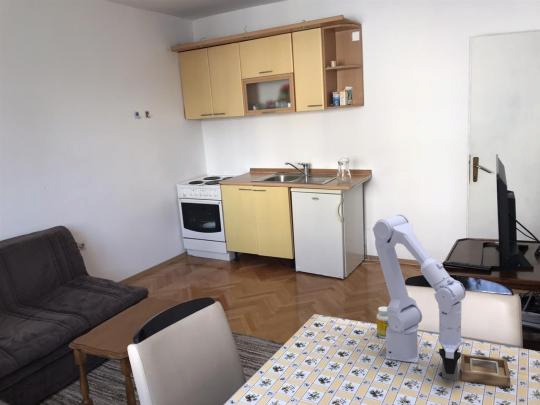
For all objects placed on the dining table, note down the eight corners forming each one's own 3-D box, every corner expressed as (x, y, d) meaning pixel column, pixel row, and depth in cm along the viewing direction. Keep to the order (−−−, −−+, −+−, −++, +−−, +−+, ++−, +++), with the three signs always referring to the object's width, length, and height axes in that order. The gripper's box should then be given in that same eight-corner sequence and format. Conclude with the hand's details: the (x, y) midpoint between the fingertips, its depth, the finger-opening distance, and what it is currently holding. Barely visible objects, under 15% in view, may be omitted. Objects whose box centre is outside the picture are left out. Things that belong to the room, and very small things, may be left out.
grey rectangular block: (442, 378, 126) (442, 358, 125) (442, 370, 130) (442, 351, 129) (457, 380, 125) (457, 360, 124) (457, 372, 129) (457, 353, 127)
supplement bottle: (384, 329, 157) (383, 304, 156) (396, 335, 153) (395, 308, 151) (373, 334, 154) (372, 308, 153) (385, 340, 150) (384, 313, 148)
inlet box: (461, 381, 125) (461, 371, 124) (461, 362, 134) (461, 353, 133) (510, 388, 120) (510, 378, 119) (506, 368, 129) (506, 359, 128)
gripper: (466, 338, 117) (465, 385, 119) (465, 315, 130) (464, 358, 132) (437, 335, 119) (437, 381, 122) (439, 312, 132) (439, 354, 135)
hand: (449, 369), depth 127 cm, fingers closed on grey rectangular block, 4 cm apart
